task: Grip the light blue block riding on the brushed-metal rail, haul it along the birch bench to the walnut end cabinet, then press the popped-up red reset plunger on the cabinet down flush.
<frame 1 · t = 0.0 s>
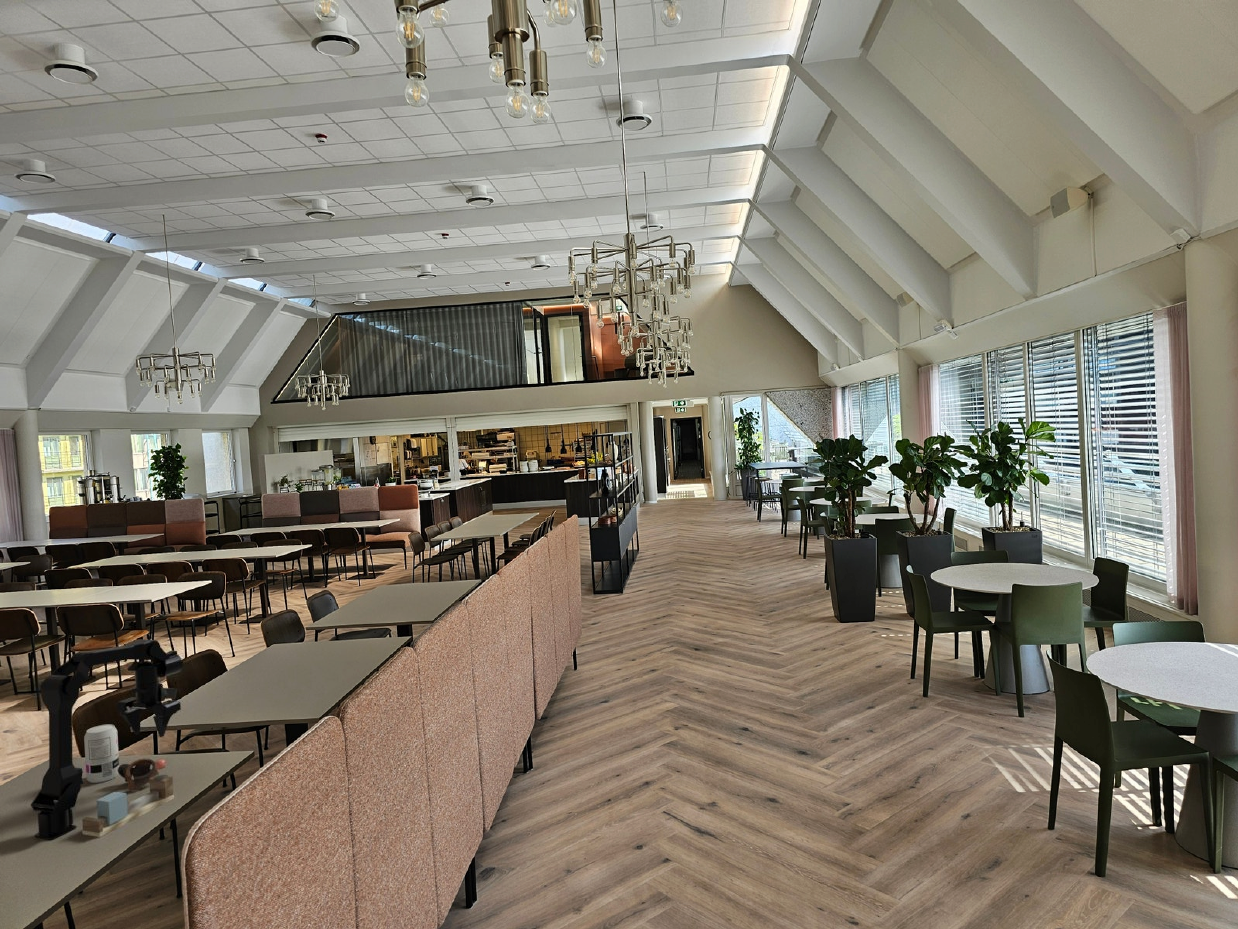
hand: (149, 735, 224), 15 cm above the table, fingers open, 9 cm apart
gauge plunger: (160, 764, 215), point 10 cm above the table, slide at 2.5 cm
supplement can: (103, 778, 231), on the table
pottery mug: (138, 785, 226), on the table
light blue block: (112, 808, 201), point 4 cm above the table, slide at 0.0 cm
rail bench: (130, 815, 206), on the table
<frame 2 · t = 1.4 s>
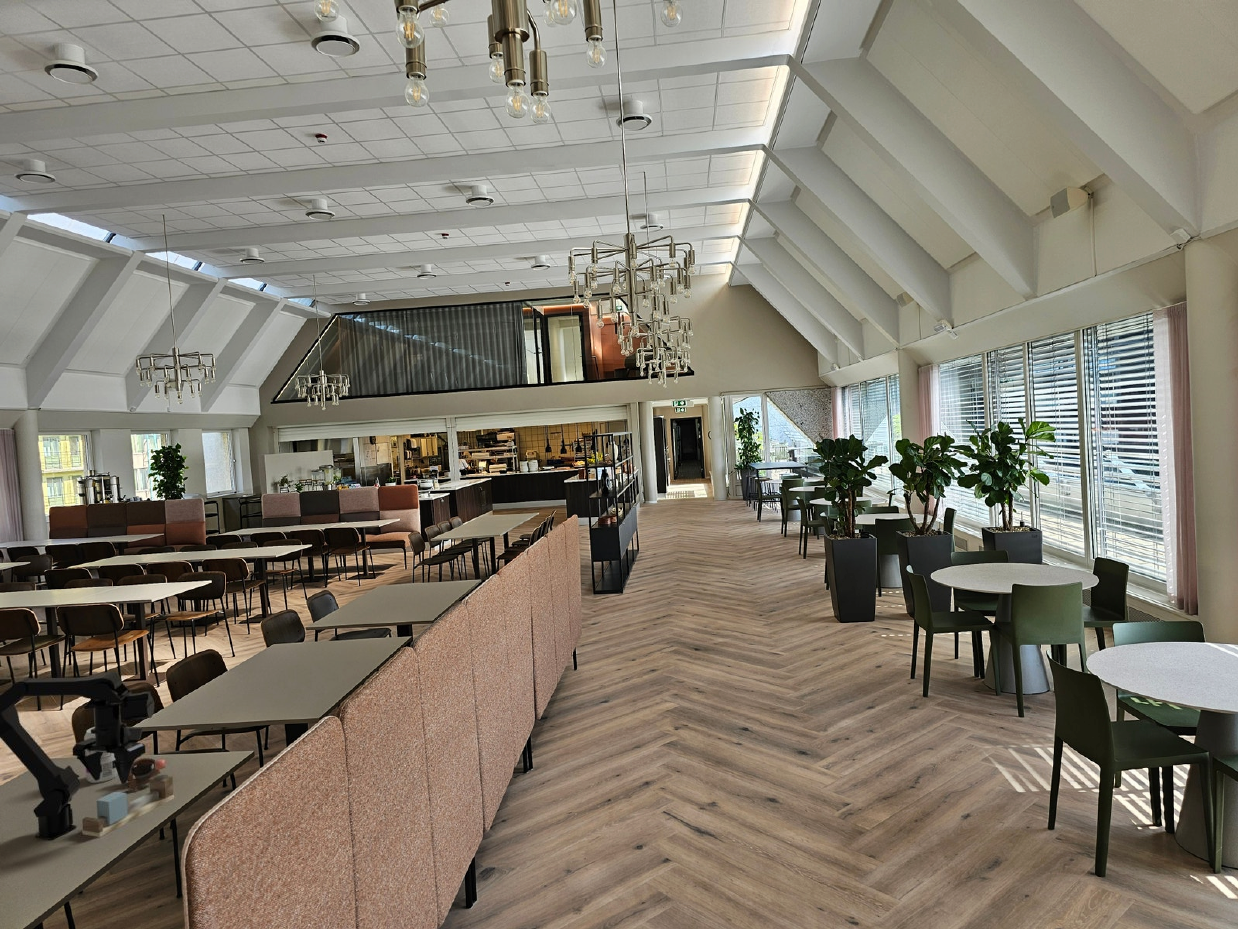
hand: (110, 781, 201), 11 cm above the table, fingers open, 9 cm apart
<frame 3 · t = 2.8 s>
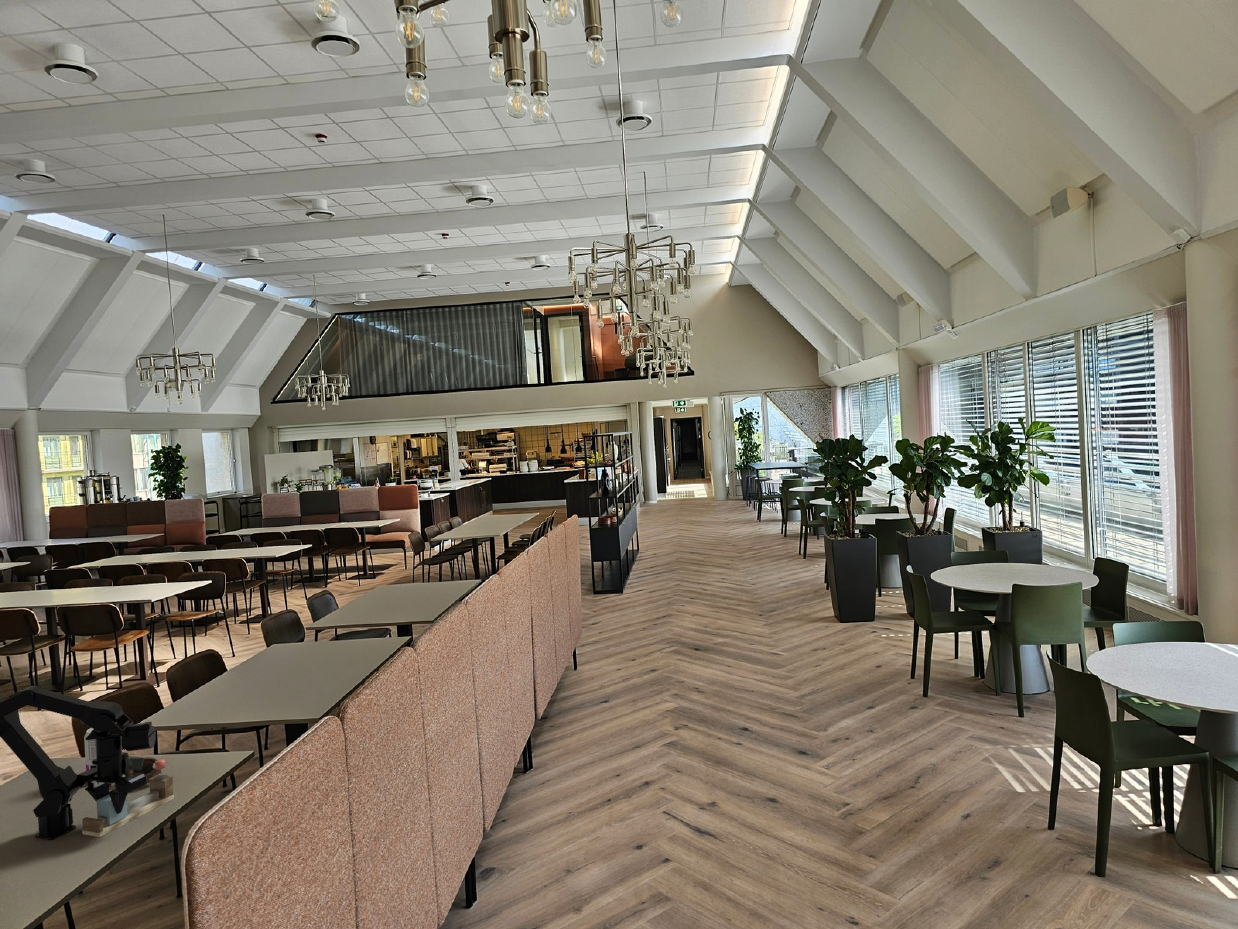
hand: (112, 812, 201), 3 cm above the table, fingers closed on light blue block, 4 cm apart
light blue block: (112, 808, 201), point 4 cm above the table, slide at 0.0 cm, touching gripper
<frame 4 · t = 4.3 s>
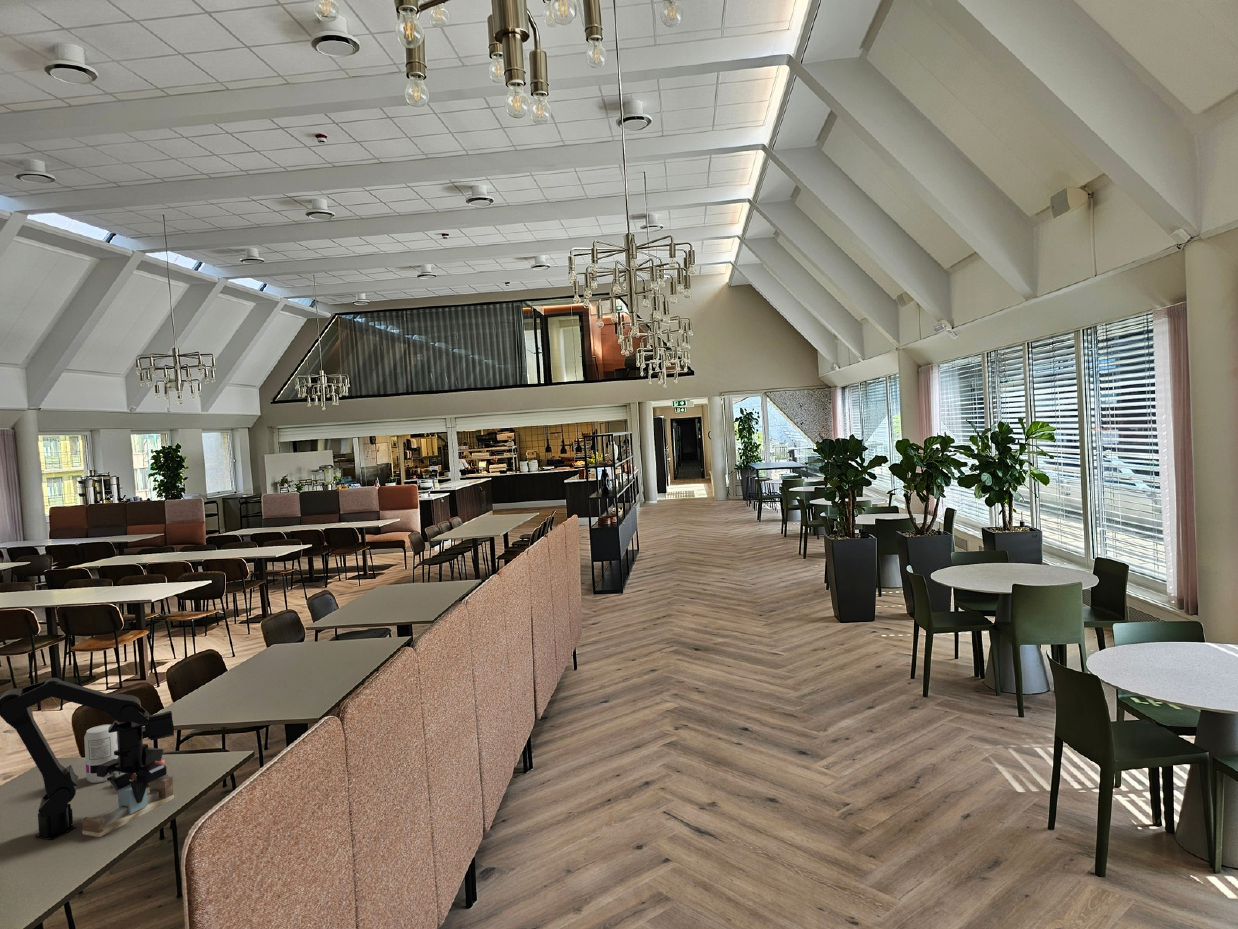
hand: (133, 801, 207), 3 cm above the table, fingers closed on light blue block, 4 cm apart
light blue block: (132, 798, 207), point 4 cm above the table, slide at 6.0 cm, touching gripper
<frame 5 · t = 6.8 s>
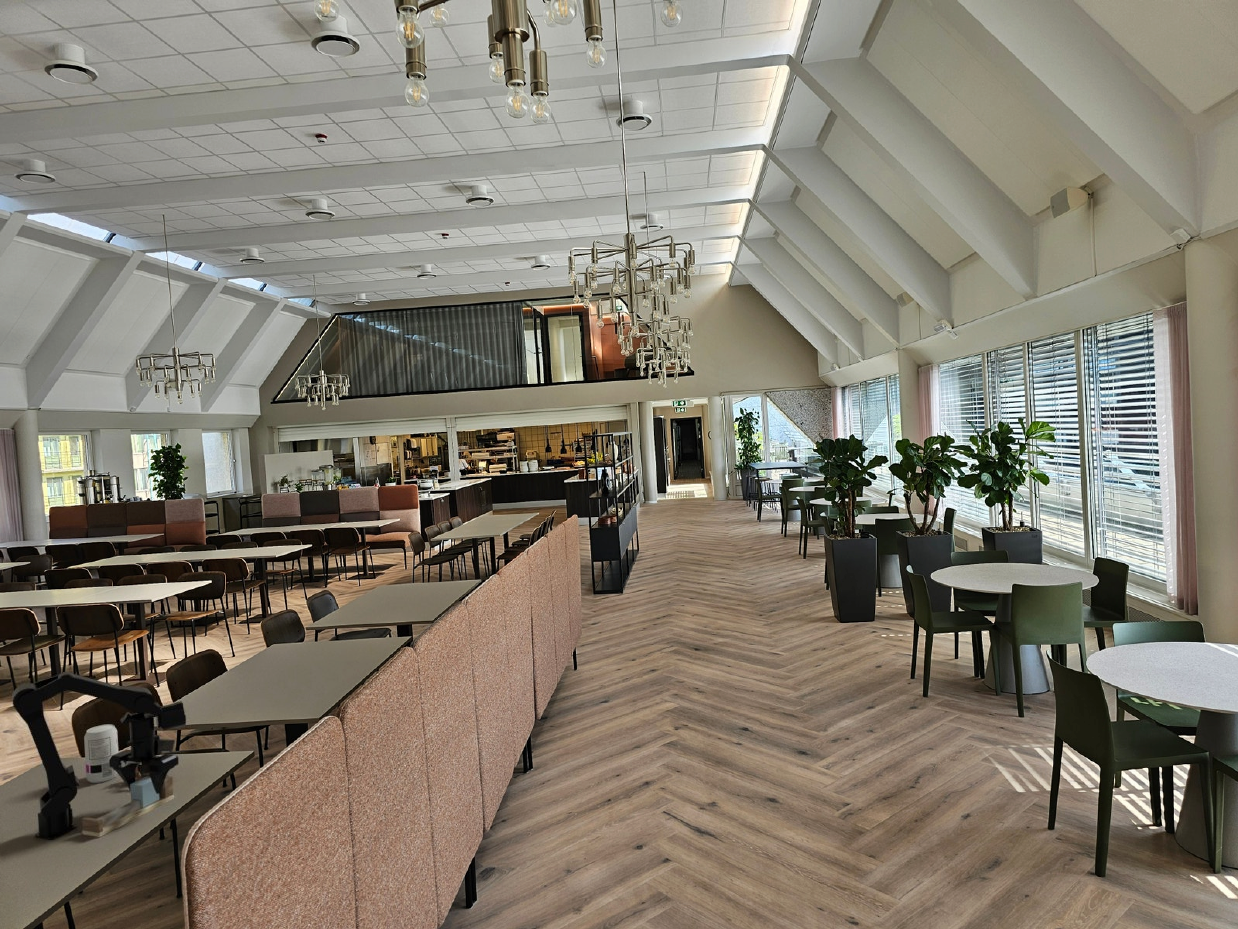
hand: (145, 791, 210), 4 cm above the table, fingers open, 9 cm apart
light blue block: (144, 792, 210), point 4 cm above the table, slide at 9.6 cm
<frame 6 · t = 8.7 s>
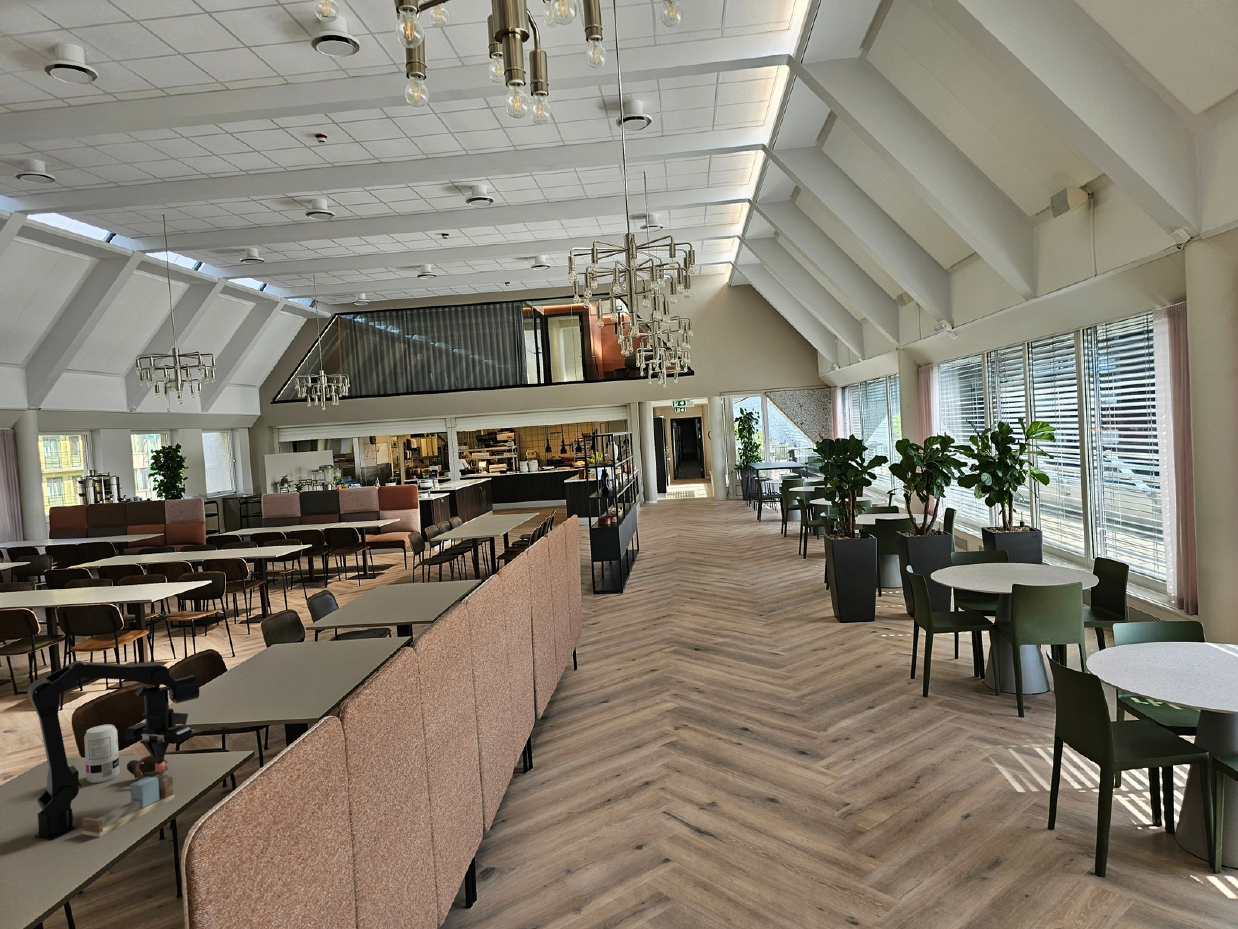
hand: (159, 763, 215), 10 cm above the table, fingers closed, pressing on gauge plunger
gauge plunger: (160, 766, 215), point 9 cm above the table, slide at 1.9 cm, touching gripper
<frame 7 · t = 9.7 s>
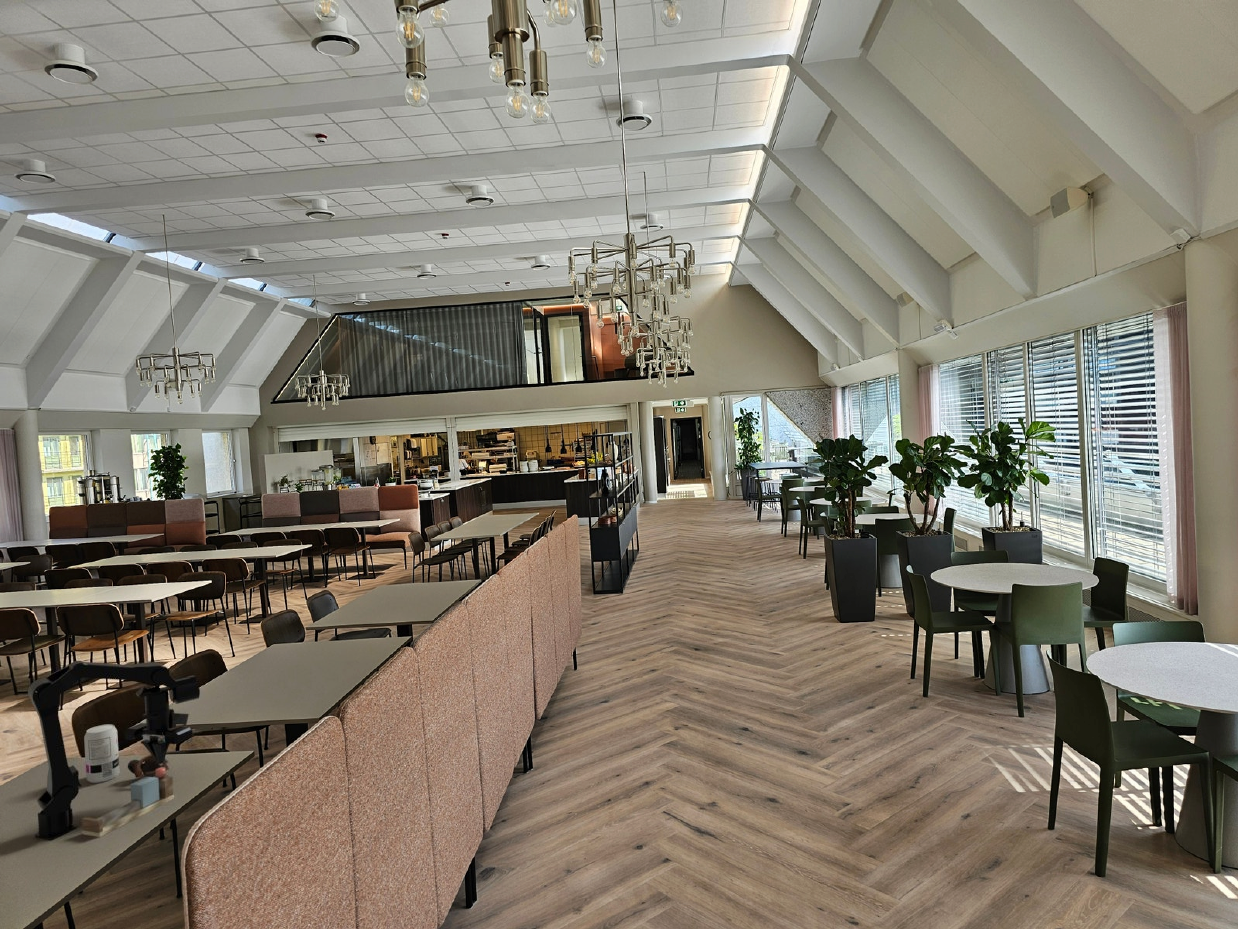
hand: (160, 763, 215), 10 cm above the table, fingers closed
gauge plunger: (160, 772, 215), point 7 cm above the table, slide at 0.2 cm
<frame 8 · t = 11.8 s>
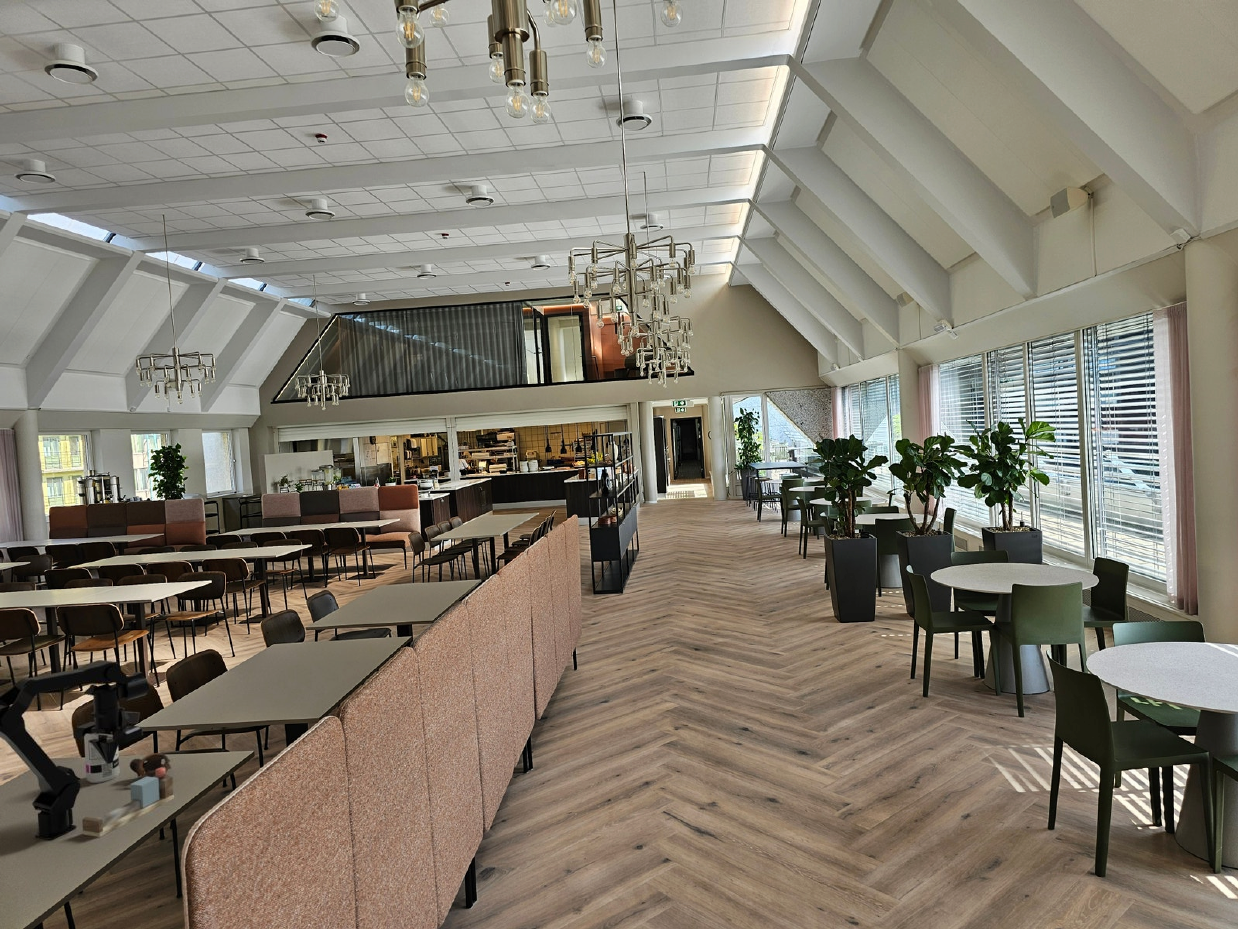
hand: (109, 763, 210), 13 cm above the table, fingers closed
at the end: light blue block slide at 9.6 cm; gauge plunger slide at 0.2 cm; the gripper is holding nothing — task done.
